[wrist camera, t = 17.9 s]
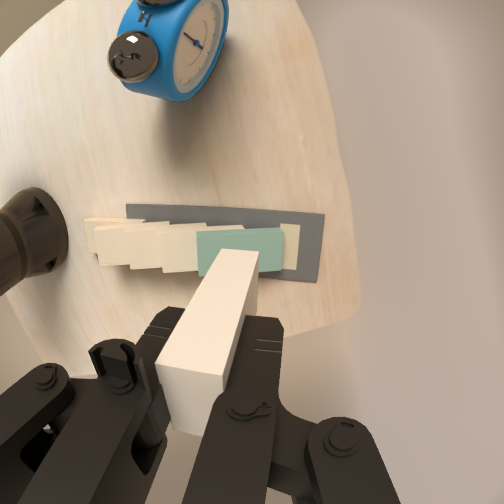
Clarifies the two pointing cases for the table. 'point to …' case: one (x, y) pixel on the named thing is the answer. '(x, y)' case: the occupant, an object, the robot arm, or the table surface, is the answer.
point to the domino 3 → (148, 244)
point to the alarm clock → (168, 46)
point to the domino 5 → (241, 246)
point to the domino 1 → (95, 222)
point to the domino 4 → (183, 247)
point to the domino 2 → (116, 242)
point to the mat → (292, 223)
